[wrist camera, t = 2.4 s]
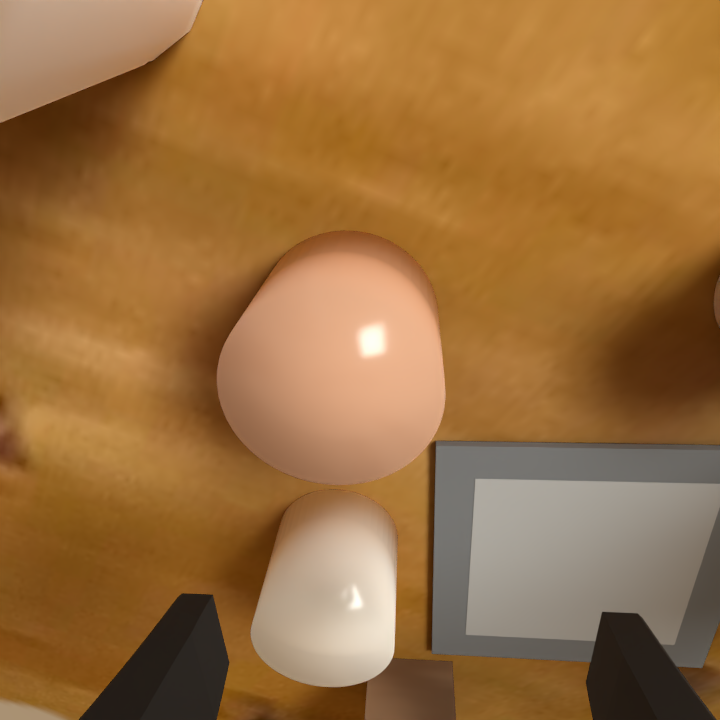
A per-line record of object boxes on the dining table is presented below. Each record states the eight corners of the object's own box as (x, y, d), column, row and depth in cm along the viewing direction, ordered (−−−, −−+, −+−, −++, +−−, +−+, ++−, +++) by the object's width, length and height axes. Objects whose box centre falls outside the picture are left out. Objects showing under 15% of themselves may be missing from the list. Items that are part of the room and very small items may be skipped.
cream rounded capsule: (396, 490, 22) (393, 594, 18) (398, 578, 25) (396, 690, 20) (273, 488, 23) (240, 590, 19) (287, 575, 25) (260, 683, 21)
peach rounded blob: (439, 228, 17) (448, 285, 13) (436, 393, 20) (443, 486, 16) (250, 232, 18) (197, 289, 14) (273, 393, 21) (235, 483, 16)
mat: (778, 445, 20) (784, 451, 20) (699, 661, 26) (702, 668, 25) (435, 441, 21) (436, 445, 21) (431, 647, 27) (431, 654, 26)
